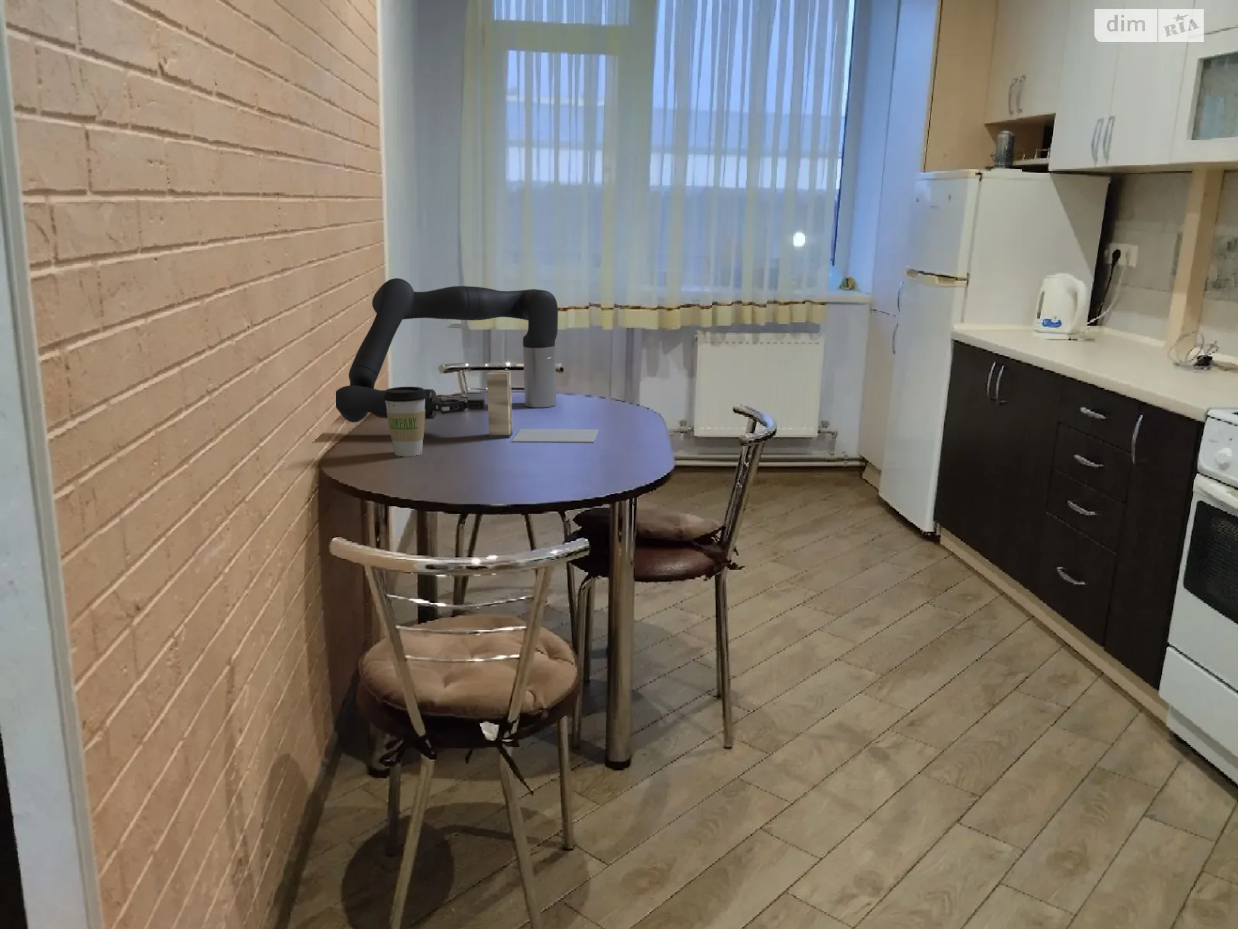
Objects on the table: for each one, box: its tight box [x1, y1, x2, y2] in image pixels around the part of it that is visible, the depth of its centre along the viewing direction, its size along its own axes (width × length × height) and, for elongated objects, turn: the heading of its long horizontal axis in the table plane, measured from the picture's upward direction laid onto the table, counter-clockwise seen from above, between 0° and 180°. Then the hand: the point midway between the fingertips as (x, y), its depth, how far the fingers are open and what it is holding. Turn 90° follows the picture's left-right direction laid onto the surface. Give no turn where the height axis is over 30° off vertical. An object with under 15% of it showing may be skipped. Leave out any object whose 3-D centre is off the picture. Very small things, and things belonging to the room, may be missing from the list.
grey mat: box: [511, 428, 600, 444], centre depth 243 cm, size 14×20×1 cm
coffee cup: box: [383, 386, 427, 458], centre depth 224 cm, size 10×10×15 cm
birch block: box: [486, 370, 513, 439], centre depth 242 cm, size 5×5×16 cm
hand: (483, 404), depth 242 cm, fingers closed
